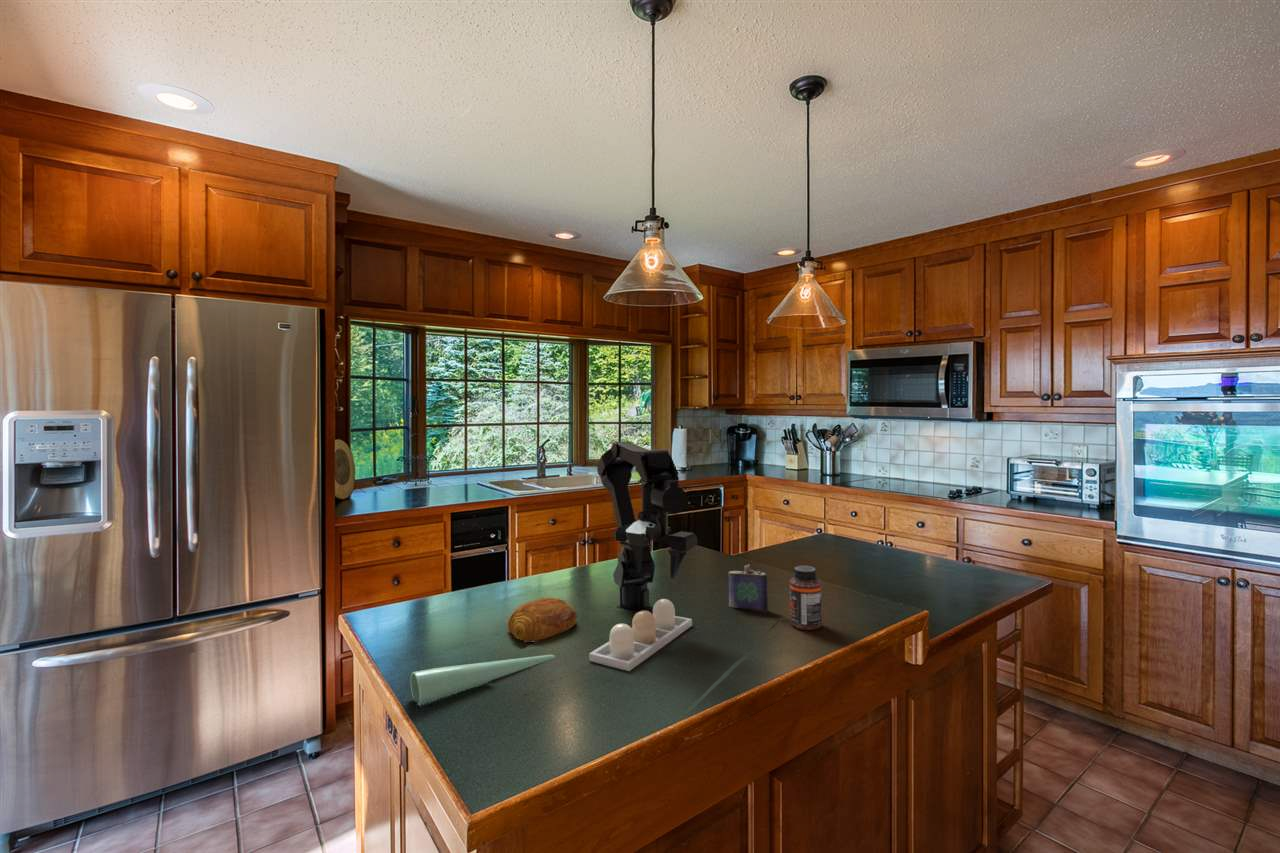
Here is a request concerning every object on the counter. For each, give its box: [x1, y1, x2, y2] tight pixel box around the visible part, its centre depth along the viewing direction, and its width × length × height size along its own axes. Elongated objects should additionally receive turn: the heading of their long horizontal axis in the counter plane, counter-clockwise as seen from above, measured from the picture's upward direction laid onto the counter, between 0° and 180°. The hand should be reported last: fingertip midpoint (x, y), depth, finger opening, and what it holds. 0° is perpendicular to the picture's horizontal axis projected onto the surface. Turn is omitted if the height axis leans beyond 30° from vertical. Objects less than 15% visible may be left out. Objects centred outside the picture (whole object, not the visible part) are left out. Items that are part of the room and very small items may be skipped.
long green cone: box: [410, 654, 556, 705], centre depth 106 cm, size 5×6×27 cm
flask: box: [728, 564, 769, 612], centre depth 140 cm, size 9×3×11 cm, turn 71°
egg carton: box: [588, 615, 693, 672], centre depth 120 cm, size 9×26×2 cm, turn 148°
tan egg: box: [631, 610, 656, 645], centre depth 120 cm, size 5×5×6 cm
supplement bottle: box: [789, 565, 823, 631], centre depth 128 cm, size 7×7×13 cm
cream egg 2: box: [652, 598, 676, 631], centre depth 127 cm, size 5×5×6 cm
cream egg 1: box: [608, 623, 635, 661], centre depth 113 cm, size 5×5×6 cm
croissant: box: [507, 597, 578, 643], centre depth 130 cm, size 14×16×8 cm
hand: (655, 574), depth 130 cm, fingers open, 9 cm apart
